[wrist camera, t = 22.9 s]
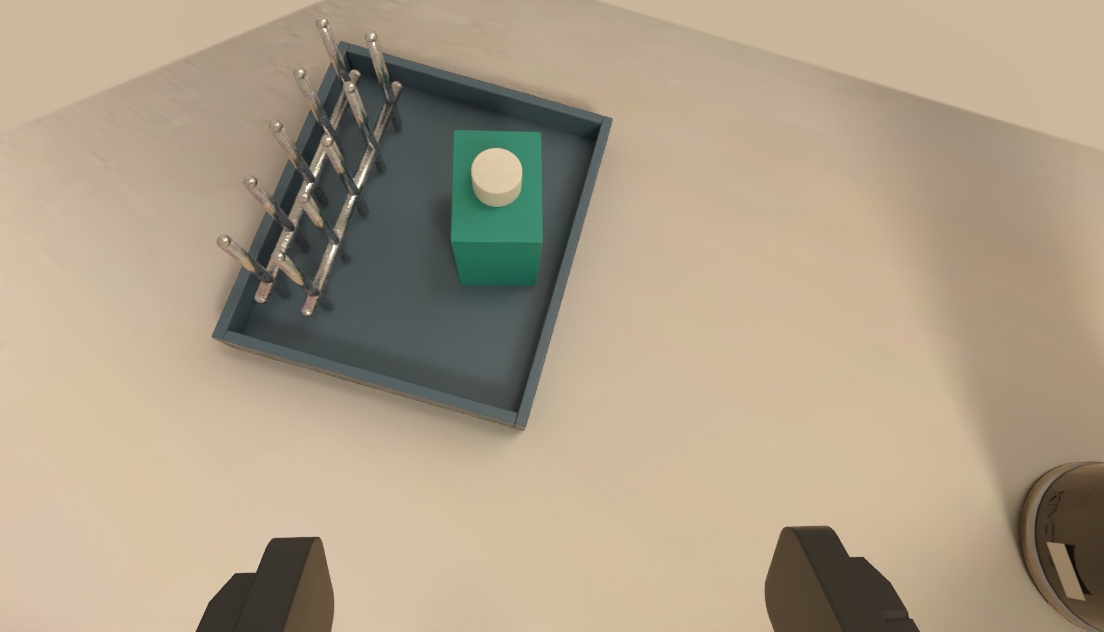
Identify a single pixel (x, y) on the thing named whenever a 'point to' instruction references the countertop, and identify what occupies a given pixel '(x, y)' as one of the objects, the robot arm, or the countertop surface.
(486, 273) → the detergent bottle
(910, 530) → the countertop surface
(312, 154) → the drip tray
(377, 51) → the dish rack
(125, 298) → the countertop surface
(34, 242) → the countertop surface
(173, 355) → the countertop surface
